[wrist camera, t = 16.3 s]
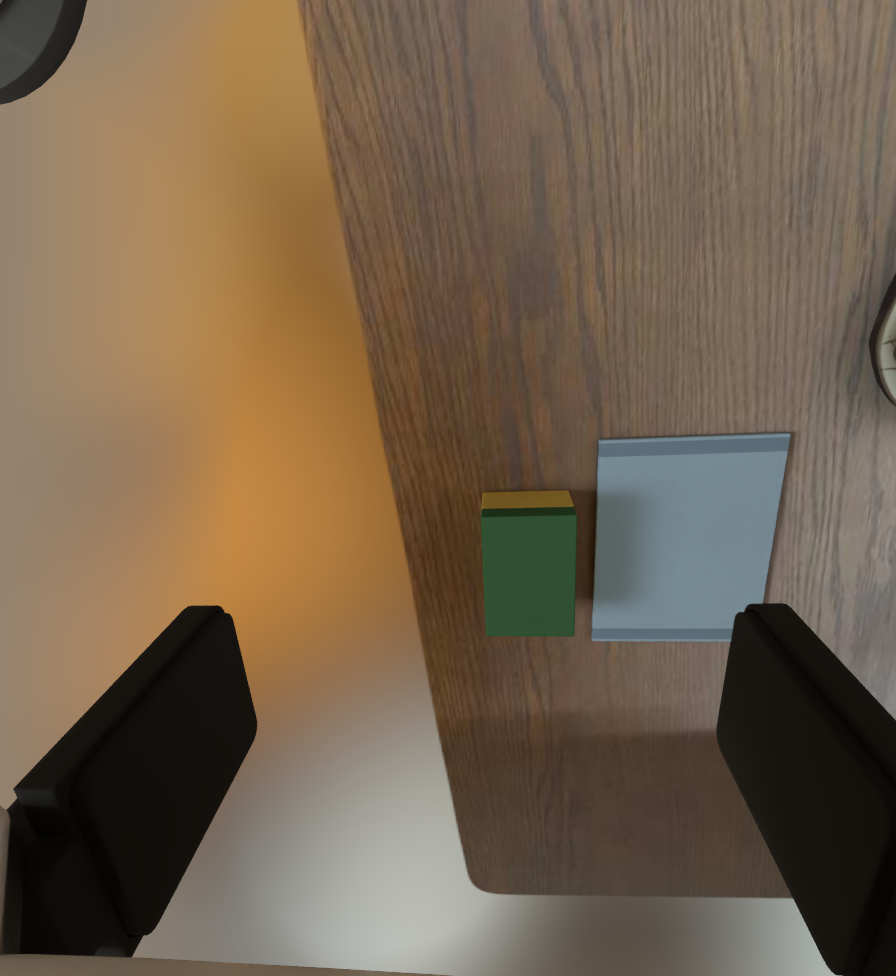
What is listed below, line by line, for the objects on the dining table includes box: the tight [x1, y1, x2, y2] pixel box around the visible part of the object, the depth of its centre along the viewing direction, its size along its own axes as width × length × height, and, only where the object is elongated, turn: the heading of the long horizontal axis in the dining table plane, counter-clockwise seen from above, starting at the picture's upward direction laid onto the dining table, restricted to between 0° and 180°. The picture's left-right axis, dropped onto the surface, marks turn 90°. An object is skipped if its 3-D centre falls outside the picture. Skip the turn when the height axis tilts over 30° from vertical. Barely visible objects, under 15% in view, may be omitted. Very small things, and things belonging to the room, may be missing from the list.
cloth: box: [592, 432, 791, 642], centre depth 37 cm, size 12×16×1 cm
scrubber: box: [481, 490, 577, 636], centre depth 37 cm, size 9×6×4 cm, turn 4°
